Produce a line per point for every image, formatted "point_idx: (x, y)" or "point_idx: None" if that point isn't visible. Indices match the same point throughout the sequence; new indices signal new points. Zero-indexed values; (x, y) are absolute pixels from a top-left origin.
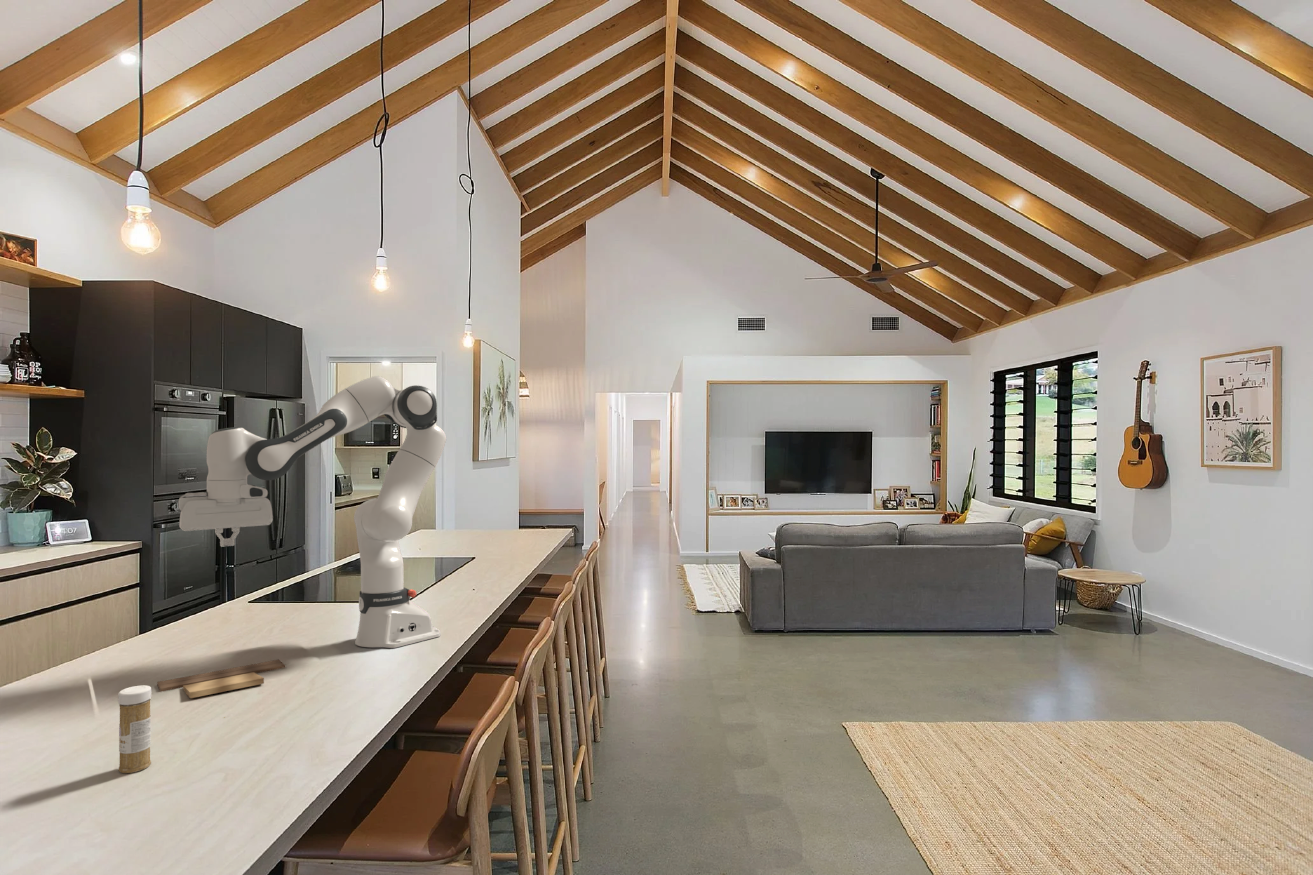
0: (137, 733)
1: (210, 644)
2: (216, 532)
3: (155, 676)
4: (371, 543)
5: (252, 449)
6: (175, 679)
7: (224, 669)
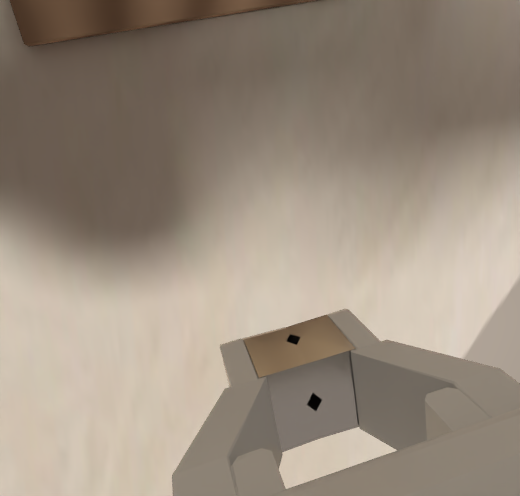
0: None
1: None
2: (509, 386)
3: (351, 115)
4: None
5: None
6: None
7: (189, 18)
